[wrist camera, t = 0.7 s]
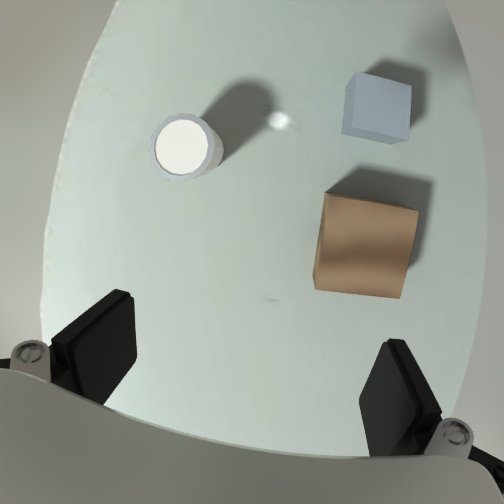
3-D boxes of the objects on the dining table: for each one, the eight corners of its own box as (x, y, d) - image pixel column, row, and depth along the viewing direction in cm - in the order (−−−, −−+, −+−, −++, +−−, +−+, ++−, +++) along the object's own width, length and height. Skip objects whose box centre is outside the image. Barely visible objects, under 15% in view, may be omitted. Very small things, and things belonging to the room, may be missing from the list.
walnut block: (324, 192, 34) (330, 195, 29) (403, 205, 33) (419, 211, 28) (312, 273, 36) (315, 289, 32) (387, 283, 35) (399, 298, 31)
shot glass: (229, 121, 32) (214, 110, 26) (229, 178, 34) (214, 181, 28) (174, 125, 33) (148, 117, 27) (174, 180, 35) (149, 183, 28)
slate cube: (345, 86, 30) (356, 71, 24) (393, 97, 29) (411, 86, 23) (341, 134, 31) (351, 127, 26) (389, 144, 31) (408, 140, 25)
